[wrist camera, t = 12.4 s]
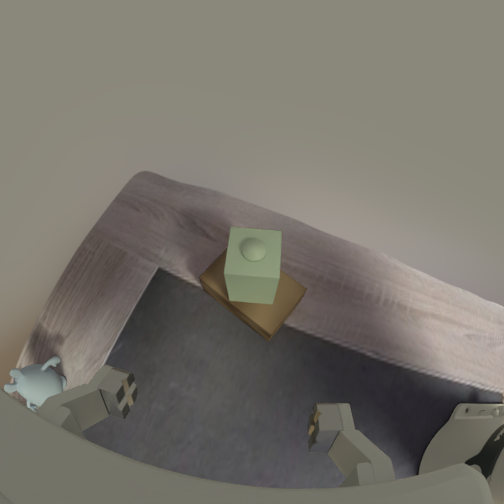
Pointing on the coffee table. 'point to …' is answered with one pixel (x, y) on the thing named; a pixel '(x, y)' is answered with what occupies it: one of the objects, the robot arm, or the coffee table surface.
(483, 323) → the coffee table surface
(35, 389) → the toy figure
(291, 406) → the coffee table surface
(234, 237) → the green brick
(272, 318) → the base brick
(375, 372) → the coffee table surface
